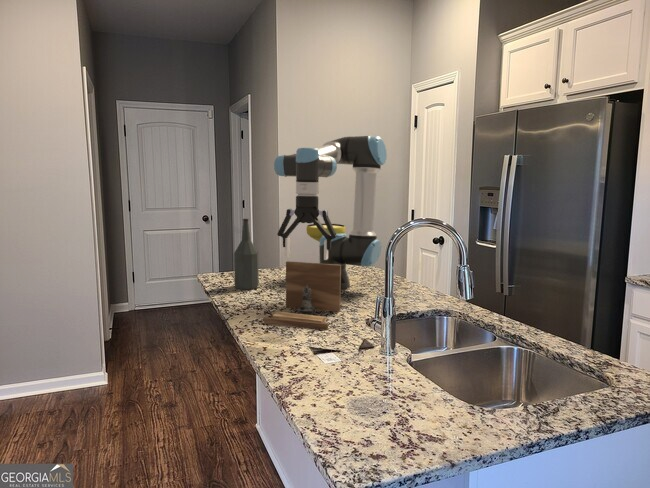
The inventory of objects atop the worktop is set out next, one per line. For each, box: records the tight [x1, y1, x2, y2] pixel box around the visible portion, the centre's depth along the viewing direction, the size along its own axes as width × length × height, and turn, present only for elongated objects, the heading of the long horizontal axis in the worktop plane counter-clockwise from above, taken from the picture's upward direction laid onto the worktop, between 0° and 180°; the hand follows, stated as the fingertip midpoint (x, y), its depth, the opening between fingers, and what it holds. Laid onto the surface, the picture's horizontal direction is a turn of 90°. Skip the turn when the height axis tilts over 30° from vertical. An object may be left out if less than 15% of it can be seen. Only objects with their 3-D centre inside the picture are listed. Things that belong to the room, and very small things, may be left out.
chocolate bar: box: [308, 337, 375, 356], centre depth 142 cm, size 9×1×18 cm
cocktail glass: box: [306, 223, 346, 243], centre depth 226 cm, size 18×18×25 cm
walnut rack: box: [263, 260, 342, 331], centre depth 163 cm, size 21×22×18 cm
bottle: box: [233, 218, 260, 291], centre depth 207 cm, size 10×10×30 cm
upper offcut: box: [272, 311, 327, 323], centre depth 158 cm, size 4×17×2 cm, turn 72°
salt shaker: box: [297, 285, 316, 315], centre depth 166 cm, size 6×6×12 cm
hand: (306, 258), depth 164 cm, fingers open, 13 cm apart
